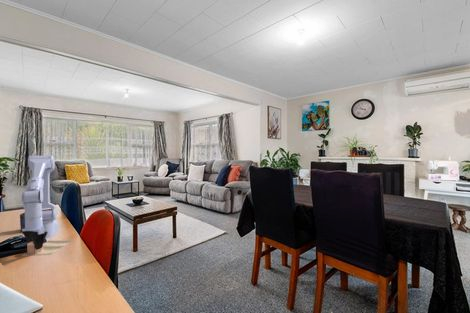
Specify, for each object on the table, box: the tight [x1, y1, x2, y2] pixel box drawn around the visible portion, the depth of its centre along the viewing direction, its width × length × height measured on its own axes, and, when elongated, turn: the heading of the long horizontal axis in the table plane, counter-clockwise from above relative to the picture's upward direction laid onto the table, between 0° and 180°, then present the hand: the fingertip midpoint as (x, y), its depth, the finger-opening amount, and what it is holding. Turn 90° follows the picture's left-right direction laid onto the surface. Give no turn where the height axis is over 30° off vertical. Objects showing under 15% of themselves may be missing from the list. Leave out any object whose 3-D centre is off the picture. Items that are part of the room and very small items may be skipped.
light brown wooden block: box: [26, 242, 43, 254], centre depth 99 cm, size 5×5×4 cm
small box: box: [19, 211, 25, 233], centre depth 131 cm, size 11×6×10 cm, turn 105°
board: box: [20, 239, 73, 257], centre depth 104 cm, size 16×12×6 cm
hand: (35, 246), depth 99 cm, fingers open, 7 cm apart
